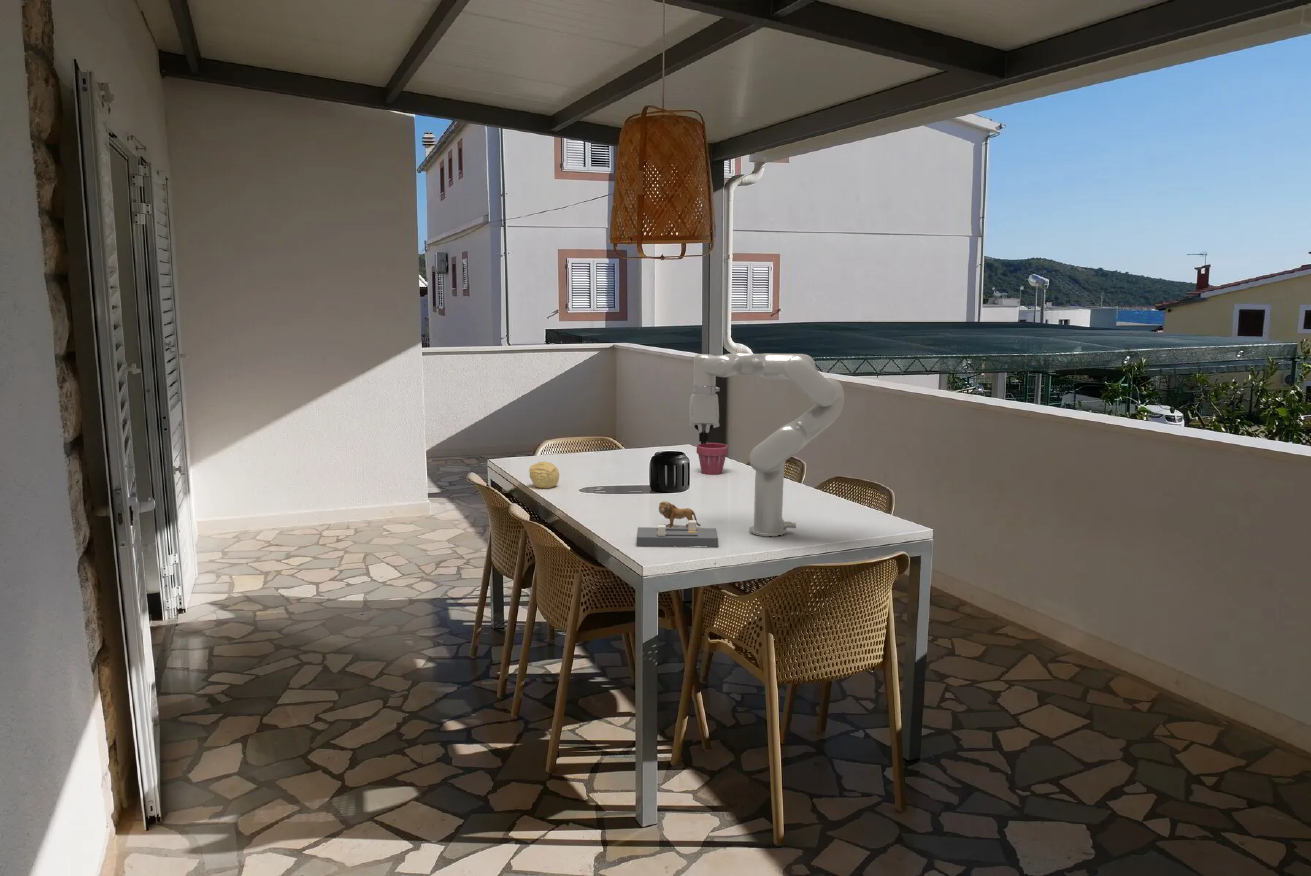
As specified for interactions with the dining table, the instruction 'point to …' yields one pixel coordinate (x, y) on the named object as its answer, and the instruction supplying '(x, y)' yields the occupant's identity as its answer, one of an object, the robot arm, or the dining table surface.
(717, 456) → the plant pot
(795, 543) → the dining table surface
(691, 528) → the switch
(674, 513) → the lion figurine
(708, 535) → the switch board
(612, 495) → the dining table surface
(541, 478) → the sculpture
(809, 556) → the dining table surface
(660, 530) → the switch
